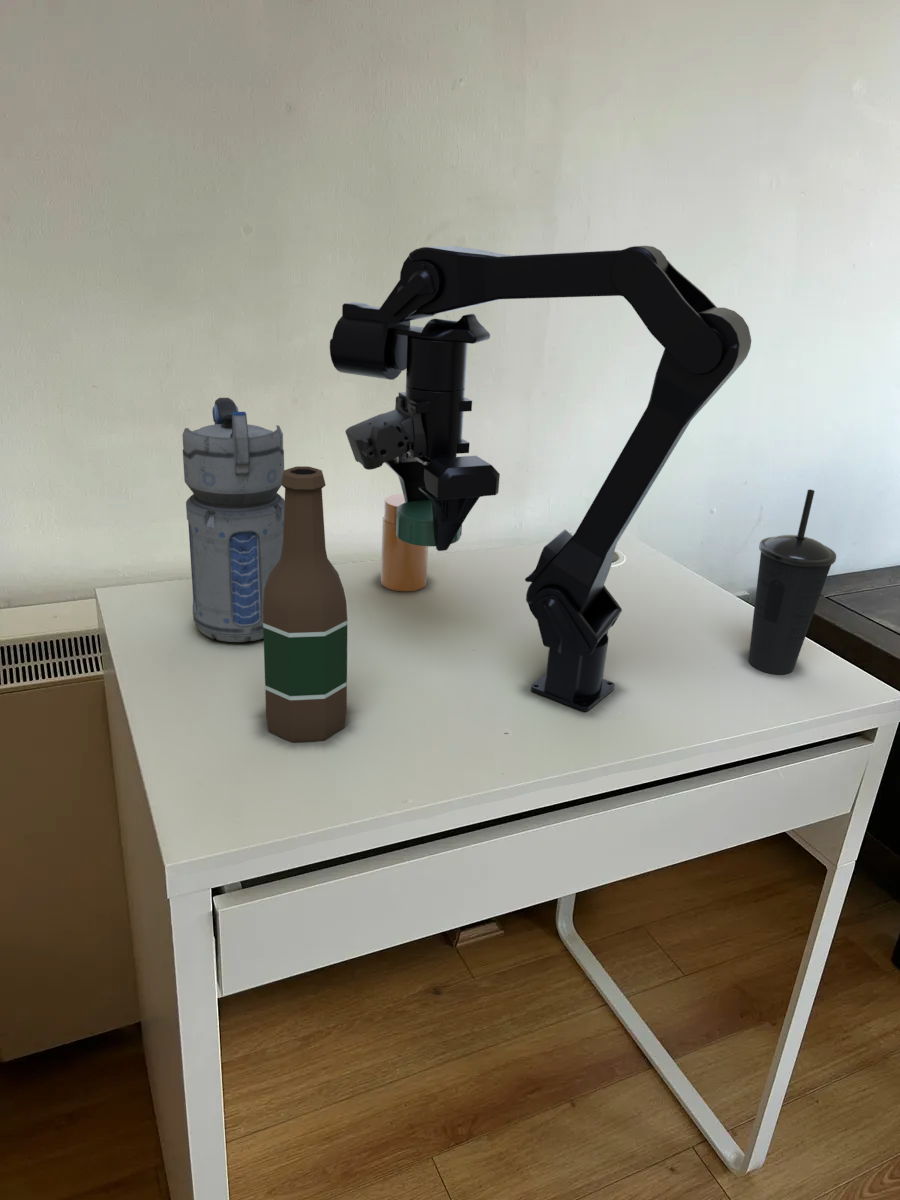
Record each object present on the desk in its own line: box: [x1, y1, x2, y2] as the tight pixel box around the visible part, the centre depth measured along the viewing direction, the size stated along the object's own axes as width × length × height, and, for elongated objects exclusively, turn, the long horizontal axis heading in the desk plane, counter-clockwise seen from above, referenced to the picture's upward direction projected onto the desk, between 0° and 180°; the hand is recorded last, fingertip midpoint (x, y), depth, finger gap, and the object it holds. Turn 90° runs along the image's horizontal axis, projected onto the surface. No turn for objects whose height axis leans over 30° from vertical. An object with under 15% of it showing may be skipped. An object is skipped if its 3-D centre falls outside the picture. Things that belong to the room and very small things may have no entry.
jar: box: [380, 493, 429, 592], centre depth 113 cm, size 6×6×11 cm
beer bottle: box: [263, 465, 349, 743], centre depth 78 cm, size 8×8×24 cm
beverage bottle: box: [181, 397, 285, 643], centre depth 96 cm, size 10×13×25 cm
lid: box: [395, 500, 463, 547], centre depth 92 cm, size 7×7×3 cm
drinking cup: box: [748, 489, 837, 675], centre depth 95 cm, size 8×8×20 cm
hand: (428, 538), depth 93 cm, fingers closed on lid, 6 cm apart
